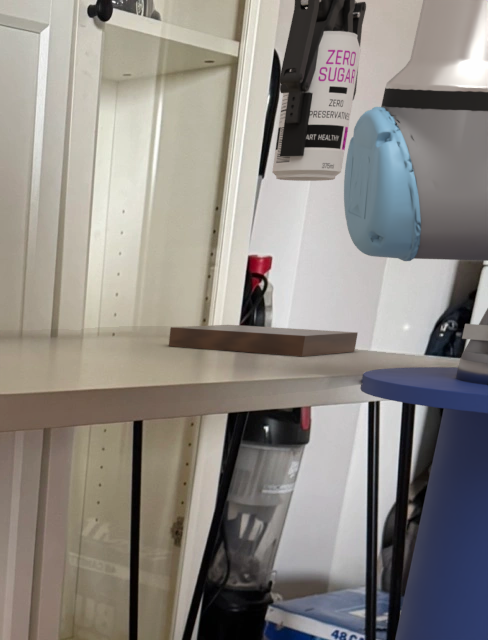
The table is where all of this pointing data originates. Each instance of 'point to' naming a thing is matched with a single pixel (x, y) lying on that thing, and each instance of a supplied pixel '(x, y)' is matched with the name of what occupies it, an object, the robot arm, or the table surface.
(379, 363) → the table surface
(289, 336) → the walnut board
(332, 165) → the supplement can
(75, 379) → the table surface
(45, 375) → the table surface
